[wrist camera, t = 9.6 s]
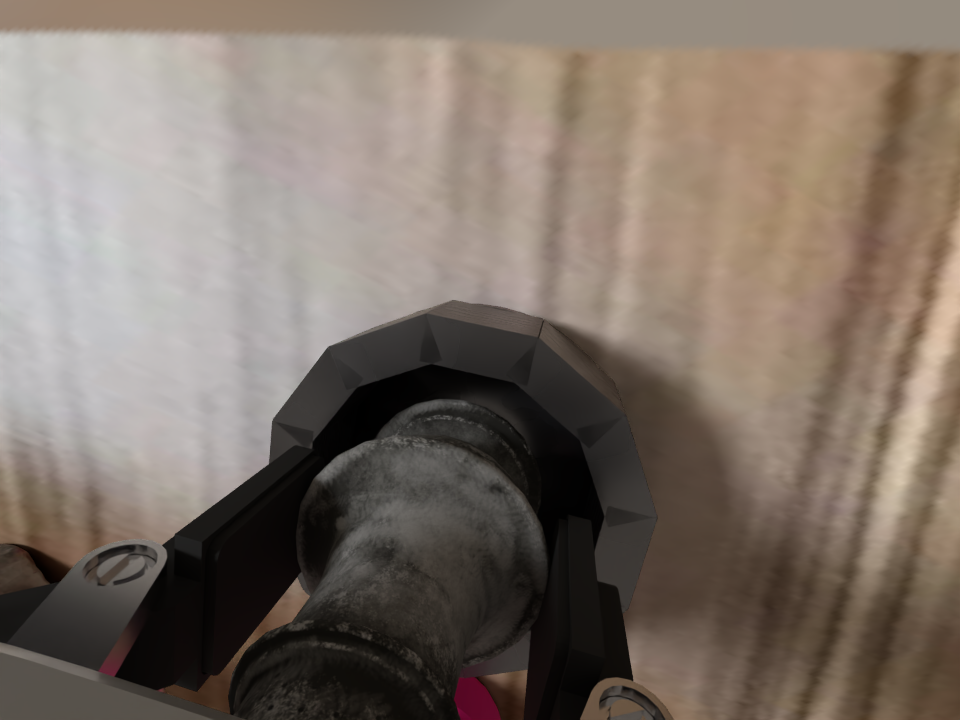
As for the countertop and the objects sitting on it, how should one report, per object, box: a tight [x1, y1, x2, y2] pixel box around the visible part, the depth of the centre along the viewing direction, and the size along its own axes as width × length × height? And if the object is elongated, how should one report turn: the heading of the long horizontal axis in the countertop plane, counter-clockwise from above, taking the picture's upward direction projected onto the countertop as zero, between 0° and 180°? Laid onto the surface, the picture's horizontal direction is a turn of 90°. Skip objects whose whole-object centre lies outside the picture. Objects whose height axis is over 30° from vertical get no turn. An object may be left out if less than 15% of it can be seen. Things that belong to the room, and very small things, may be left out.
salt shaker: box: [228, 399, 550, 720], centre depth 8 cm, size 6×6×12 cm
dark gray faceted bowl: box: [269, 300, 657, 678], centre depth 14 cm, size 10×10×4 cm
